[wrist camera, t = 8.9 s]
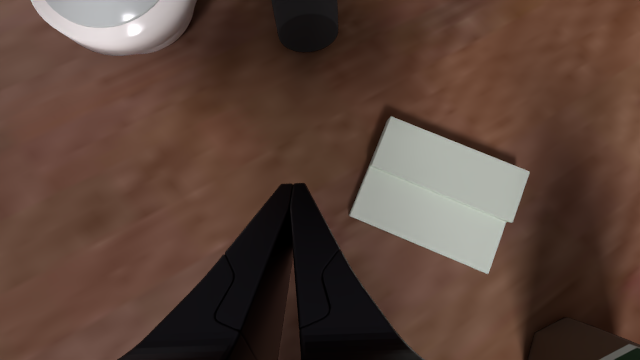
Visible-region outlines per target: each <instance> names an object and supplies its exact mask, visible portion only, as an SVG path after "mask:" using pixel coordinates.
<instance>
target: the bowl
mask: <svg viewBox="0 0 640 360" xmlns="http://www.w3.org/2000/svg"><path fill="white" fill-rule="evenodd" d="M196 1H197V0H31V2H32V4H33V6H34V7H35V9H36V10H37V12H38V13H39V14H40V16H41V17H42V18H43V19H44V20H45V21H46V22H47V23H49V24H50V25H51V26H52V27H54V28H55V29H57V30H58V31H60V32H61V33H63V34H64V35H66V36H67V37H69V38H70V39H72V40H73V41H75V42H76V43H78V44H79V45H81V46H83V47H84V48H86V49H89V50H91V51H93V52H97V53H100V54H105V55H111V56H126V55H134V54H147V53H152V52H156V51H159V50H161V49H163V48H165V47H167V46H169V45H171V44H172V43H174V42H175V41H176V40H177V39H178V38H179V37H180V36H181V35H182V34H183V33H184V31H185V30H186V29H187V27H188V25H189V23H190V21H191V19H192V16H193V12H194V7H195V4H196Z"/></svg>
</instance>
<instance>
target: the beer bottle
mask: <svg viewBox="0 0 640 360" xmlns="http://www.w3.org/2000/svg"><path fill="white" fill-rule="evenodd" d="M528 360H640V345H639V344H637V343H634V342H632V341H630V340H627V339H624V338H622V337H619V336H617V335H614V334H612V333H609V332H606V331H604V330H601V329H598V328H596V327H593V326H590V325H587V324H585V323H582V322H579V321H576V320H573V319H571V318H563V319H561V320H559V321H557V322H555V323H553V324H551V325H549V326H547V327H545V328H543V329H541V330H540V331H538V332H536V333H535V334H534V337H533V341H532V345H531V349H530V353H529V357H528Z"/></svg>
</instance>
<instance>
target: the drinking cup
mask: <svg viewBox="0 0 640 360" xmlns="http://www.w3.org/2000/svg"><path fill="white" fill-rule="evenodd" d="M272 5H273V11H274V16H275V21H276V26H277V31H278V36H279V40H280V41H281V43H282V44H283V45H284V46H285V47H287V48H289V49H291V50H294V51H298V52H312V51H317V50H320V49H323V48H325V47H327V46H328V45H330V44H331V43H332V42H333V41H334V40H335V38H336V37H337V34H338V7H337V0H272Z"/></svg>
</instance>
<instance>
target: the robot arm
mask: <svg viewBox="0 0 640 360" xmlns="http://www.w3.org/2000/svg"><path fill="white" fill-rule="evenodd" d="M293 258H294V271H295V283H296V296H297V308H298V321H299V330H300V332H299V333H300V347H301V360H424V359H423V358H422V357H421V356H419V355H418V354H417V353H416V352H415V351H413V350H412V349H411V348H410V347H409V346H408V345H407V344H406V343H405V341H404V340H403V339H402V338H401V337H400V336H399V335H398V333H397V332H396V331H395V329H394V328H393V327H392V326H391V324H390V323H389V321H388V320H387V319H386V317H385V316H384V315H383V313H382V312H381V310H380V309H379V308H378V306H377V305H376V304H375V302H374V301H373V299H372V298H371V297H370V295H369V294H368V293H367V291H366V290H365V289H364V287H363V286H362V284H361V283H360V281H359V280H358V278H357V277H356V275H355V274H354V272H353V270H352V269H351V267H350V265H349V264H348V262H347V260H346V258H345V257H344V255H343V253H342V251H341V250H340V248H339V246H338V244H337V242H336V240H335V238H334V236H333V235H332V233H331V231H330V229H329V227H328V225H327V223H326V221H325V220H324V218H323V216H322V214H321V212H320V210H319V208H318V207H317V205H316V203H315V201H314V199H313V197H312V195H311V194H310V192H309V190H308V188H307V186H306V184H305V183H295V184H281V185H280V186H279V187H278V188H277V190H276V191H275V192H274V193H273V195H272V196H271V197H270V198H269V199H268V201H267V202H266V203H265V204H264V206H263V207H262V208H261V209H260V210H259V212H258V213H257V214H256V215H255V217H254V218H253V219H252V220H251V222H250V223H249V224H248V225H247V226H246V228H245V229H244V230H243V231H242V233H241V234H240V235H239V236H238V237H237V239H236V240H235V241H234V242H233V244H232V245H231V246H230V247H229V248H228V250H227V251H226V252H225V255H223V256H222V257H221V258H220V259H219V261H218V262H217V263H216V264H215V265H214V266H213V268H212V269H211V270H210V271H209V272H208V273H207V275H206V276H205V277H204V278H203V279H202V280H201V281H200V282H199V283H198V284H197V286H196V287H195V288H194V289H193V290H192V291H191V292H190V293H189V294H188V295H187V296H186V297H185V298H184V299H183V300H182V301H181V302H180V303H179V304H178V305H177V306H176V307H175V308H174V309H173V310H172V311H171V312H170V313H169V314H168V315H167V316H166V317H165V318H164V319H163V320H162V321H161V322H160V323H159V324H158V325H157V326H156V327H155V328H154V329H153V330H152V331H151V332H150V333H149V334H148V335H147V336H146V337H145V338H144V339H143V340H142V341H141V342H140V343H139V344H138V345H136V346H135V347H134V348H133V349H132V350H130V351H129V352H128V353H126V354H125V355H124V356H122V357H121V358H119V359H118V360H278V354H279V347H280V341H281V334H282V327H283V320H284V314H285V307H286V300H287V294H288V287H289V280H290V273H291V267H292V260H293Z"/></svg>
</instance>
